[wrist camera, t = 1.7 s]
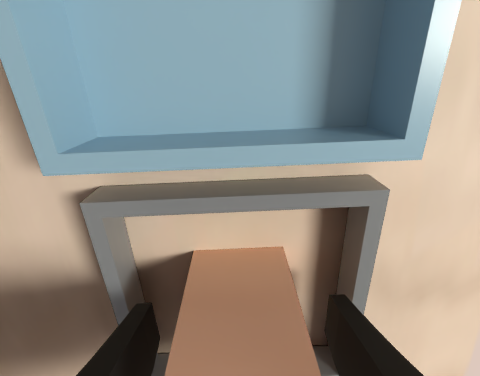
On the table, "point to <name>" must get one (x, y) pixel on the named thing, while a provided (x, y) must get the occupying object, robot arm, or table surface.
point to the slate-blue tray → (224, 81)
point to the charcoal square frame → (236, 200)
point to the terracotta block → (241, 318)
